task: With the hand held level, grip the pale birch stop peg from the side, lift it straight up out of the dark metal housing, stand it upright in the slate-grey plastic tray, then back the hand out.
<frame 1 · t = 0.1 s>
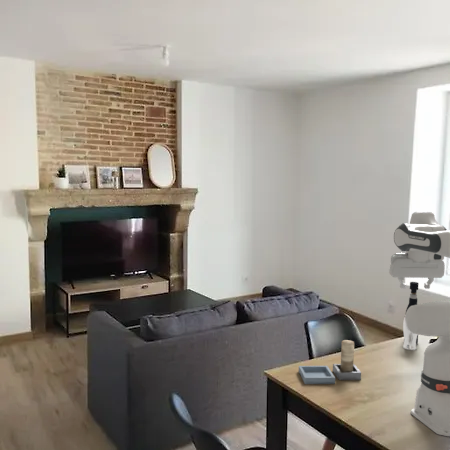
hand: (414, 288, 191), 39 cm above the table, tool pointing down, fingers open, 8 cm apart
stop peg: (347, 358, 203), in the metal housing
beer glass: (409, 348, 237), on the table
metal housing: (346, 375, 204), on the table
tray: (316, 377, 201), on the table
black chrome pepper mill: (410, 342, 245), on the table
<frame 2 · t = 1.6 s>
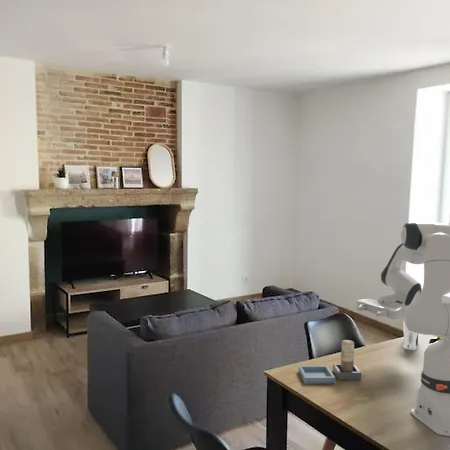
hand: (367, 311, 209), 25 cm above the table, tool horizontal, fingers open, 8 cm apart
nothing on the table moved.
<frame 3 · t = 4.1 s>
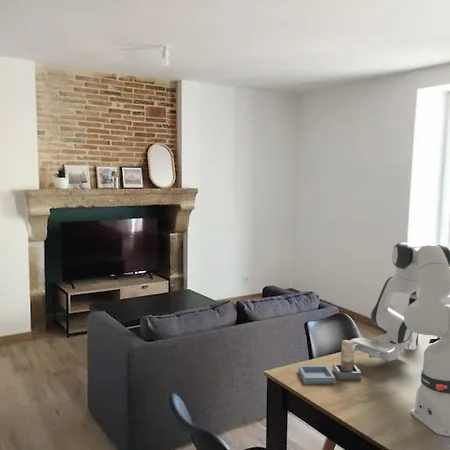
hand: (361, 352, 208), 8 cm above the table, tool horizontal, fingers open, 8 cm apart
nothing on the table moved.
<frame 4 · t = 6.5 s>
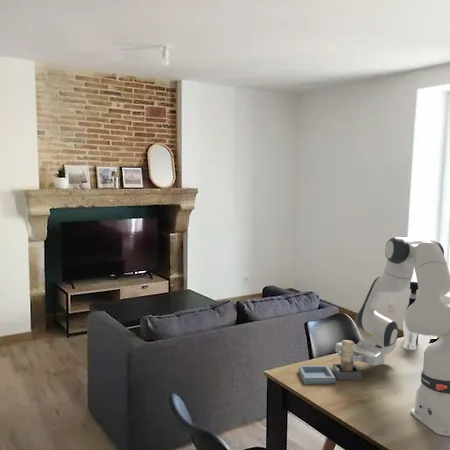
hand: (345, 356, 203), 8 cm above the table, tool horizontal, fingers closed on stop peg, 5 cm apart
stop peg: (347, 358, 203), in the metal housing, touching gripper
everything else where it was.
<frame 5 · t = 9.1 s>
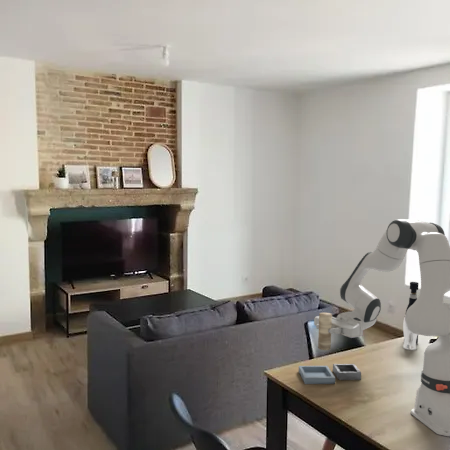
hand: (323, 329, 200), 20 cm above the table, tool horizontal, fingers closed on stop peg, 5 cm apart
stop peg: (324, 331, 200), point 19 cm above the table, touching gripper
everything else where it was.
when the fingers open (10 cm above the table, at t = 12.2 s): stop peg drops 1 cm, resting on tray.
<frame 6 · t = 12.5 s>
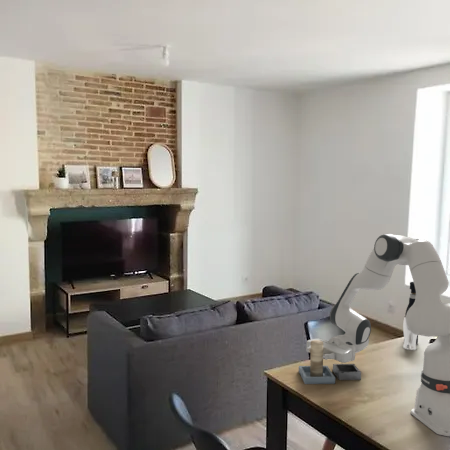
hand: (315, 353, 200), 10 cm above the table, tool horizontal, fingers open, 8 cm apart
stop peg: (316, 359, 201), in the tray, point 8 cm above the table
everything else where it was.
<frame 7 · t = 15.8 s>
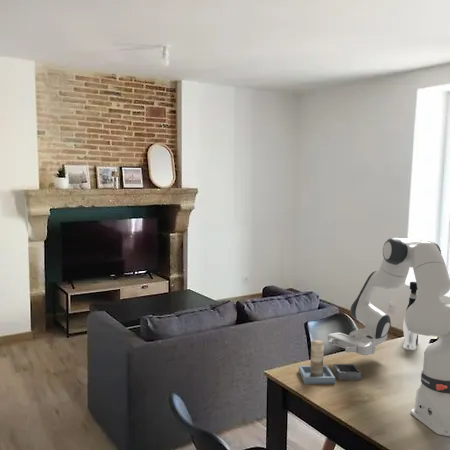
hand: (337, 346, 208), 10 cm above the table, tool horizontal, fingers open, 8 cm apart
nothing on the table moved.
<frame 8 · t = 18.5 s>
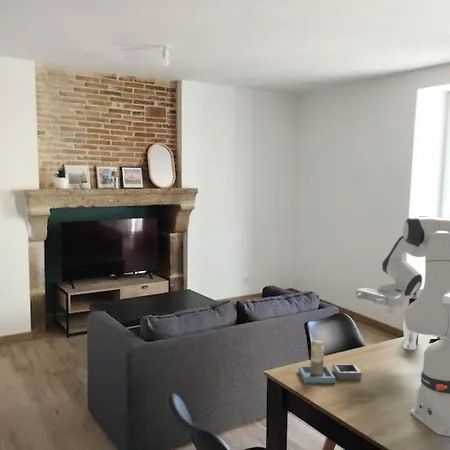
hand: (366, 299, 208), 30 cm above the table, tool horizontal, fingers open, 8 cm apart
nothing on the table moved.
at the end: stop peg inside the target area on the tray (0.0 cm from its centre), point 7.6 cm above the tray's base; stop peg tilted 0°; the gripper is holding nothing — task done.
